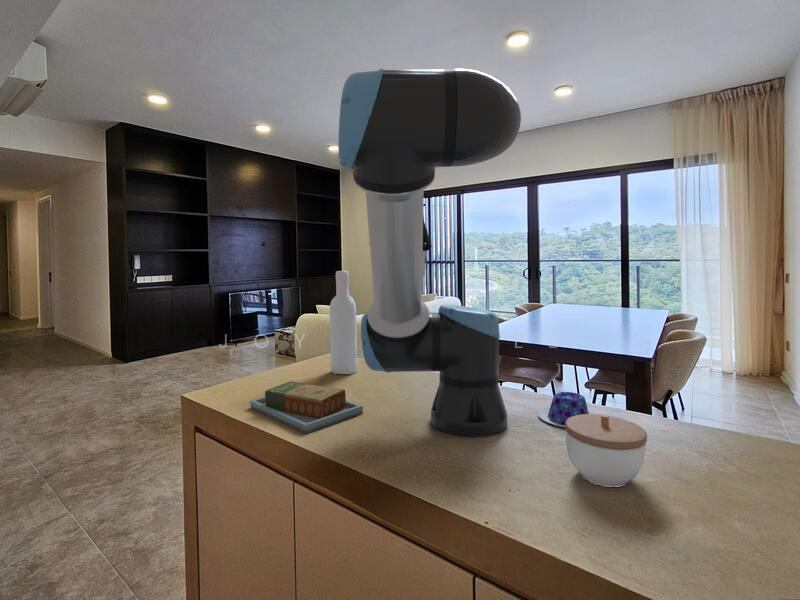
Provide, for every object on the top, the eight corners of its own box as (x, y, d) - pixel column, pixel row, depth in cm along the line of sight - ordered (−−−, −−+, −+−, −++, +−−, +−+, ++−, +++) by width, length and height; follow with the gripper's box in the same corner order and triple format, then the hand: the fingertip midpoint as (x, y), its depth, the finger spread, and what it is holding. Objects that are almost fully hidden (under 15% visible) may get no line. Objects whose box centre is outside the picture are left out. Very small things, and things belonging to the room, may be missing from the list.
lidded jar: (663, 490, 58) (666, 424, 57) (600, 503, 55) (602, 434, 54) (605, 456, 68) (607, 400, 68) (549, 465, 65) (550, 407, 64)
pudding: (529, 422, 84) (529, 397, 83) (549, 406, 93) (549, 383, 93) (592, 437, 77) (593, 409, 76) (607, 418, 86) (608, 393, 85)
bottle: (362, 371, 124) (361, 270, 121) (341, 376, 119) (338, 271, 116) (347, 367, 130) (345, 270, 127) (325, 371, 124) (323, 271, 122)
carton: (322, 420, 84) (321, 399, 83) (264, 408, 91) (263, 389, 91) (346, 407, 91) (345, 388, 91) (291, 397, 99) (290, 379, 98)
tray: (362, 413, 89) (362, 405, 89) (305, 433, 79) (305, 425, 79) (305, 392, 104) (304, 386, 104) (250, 407, 93) (250, 400, 93)
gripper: (422, 197, 114) (423, 275, 116) (353, 185, 96) (354, 277, 98) (444, 194, 109) (444, 275, 111) (375, 180, 91) (377, 278, 92)
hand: (402, 276), depth 104 cm, fingers open, 13 cm apart
